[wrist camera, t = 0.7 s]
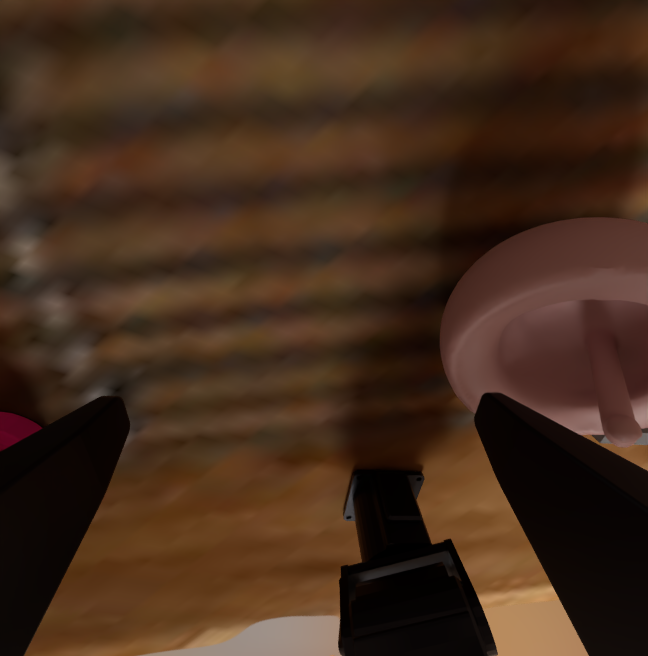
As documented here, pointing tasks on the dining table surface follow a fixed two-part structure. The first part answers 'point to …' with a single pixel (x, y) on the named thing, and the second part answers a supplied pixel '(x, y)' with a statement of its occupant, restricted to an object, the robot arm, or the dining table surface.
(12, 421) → the pepper mill
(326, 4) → the dining table surface
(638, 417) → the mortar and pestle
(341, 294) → the dining table surface
